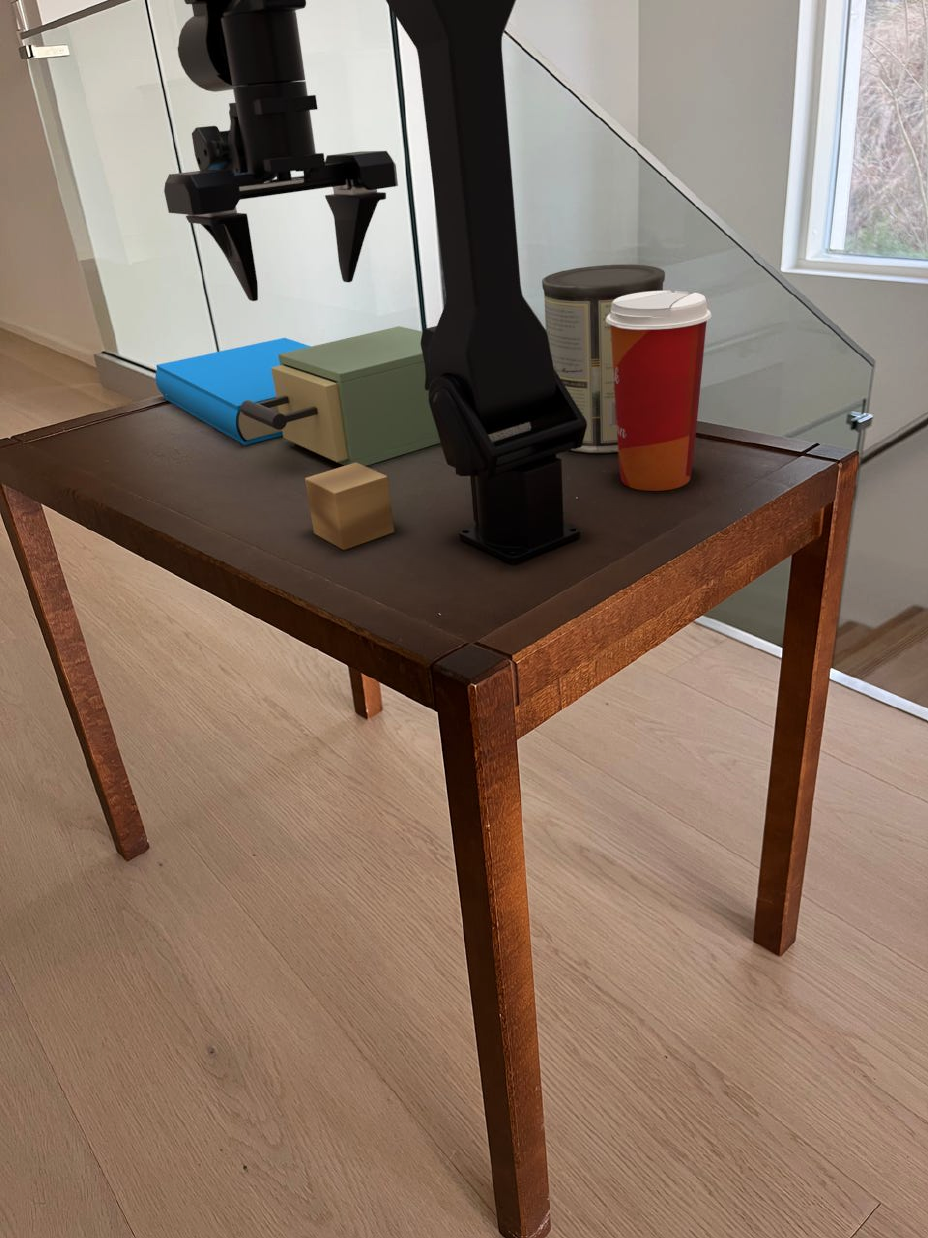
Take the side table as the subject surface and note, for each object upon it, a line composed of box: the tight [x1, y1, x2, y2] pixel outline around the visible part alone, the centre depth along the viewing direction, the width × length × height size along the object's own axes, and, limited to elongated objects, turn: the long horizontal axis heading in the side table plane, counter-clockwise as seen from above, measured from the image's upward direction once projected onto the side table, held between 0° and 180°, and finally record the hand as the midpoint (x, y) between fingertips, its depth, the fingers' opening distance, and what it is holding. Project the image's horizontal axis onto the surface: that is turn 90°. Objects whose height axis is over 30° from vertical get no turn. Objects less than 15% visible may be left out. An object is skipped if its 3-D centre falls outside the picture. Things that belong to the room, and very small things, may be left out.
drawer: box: [241, 365, 348, 463], centre depth 88 cm, size 17×10×7 cm, turn 127°
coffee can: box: [541, 264, 666, 454], centre depth 84 cm, size 10×10×14 cm
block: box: [304, 463, 395, 551], centre depth 71 cm, size 4×4×4 cm
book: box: [155, 337, 312, 446], centre depth 105 cm, size 17×4×25 cm
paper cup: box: [606, 290, 712, 492], centre depth 73 cm, size 8×8×14 cm
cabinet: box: [278, 325, 441, 467], centre depth 90 cm, size 14×12×9 cm
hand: (301, 290), depth 82 cm, fingers open, 9 cm apart
